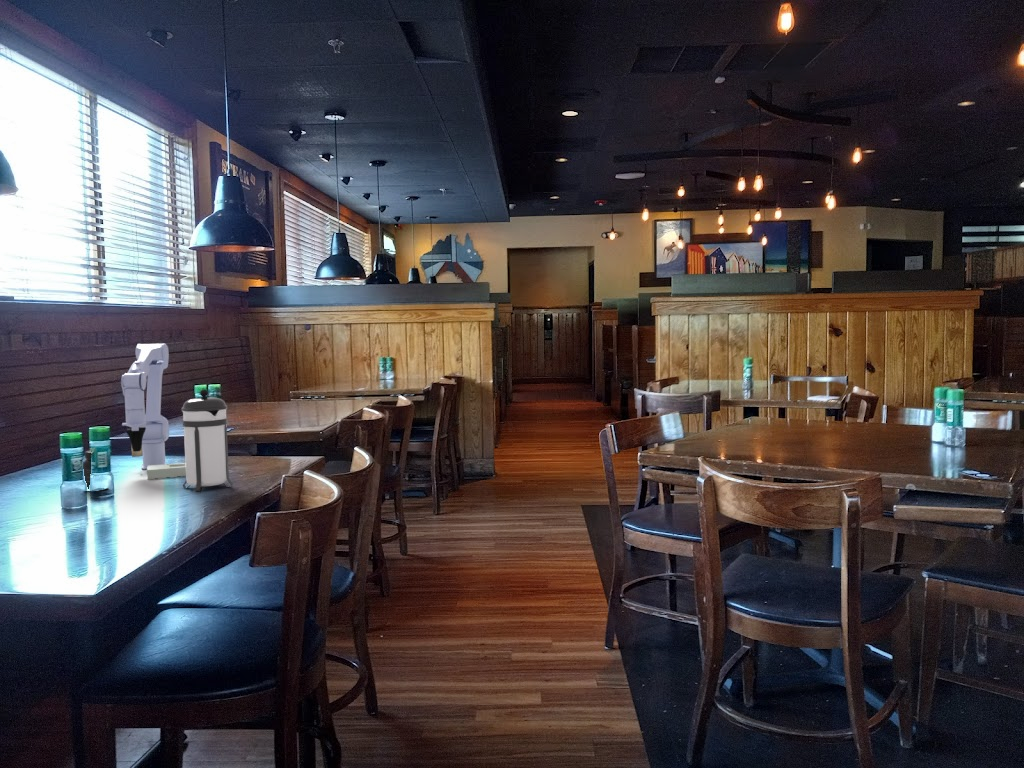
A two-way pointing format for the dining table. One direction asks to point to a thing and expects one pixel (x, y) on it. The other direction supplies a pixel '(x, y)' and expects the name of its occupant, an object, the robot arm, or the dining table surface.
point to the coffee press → (205, 442)
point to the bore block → (166, 470)
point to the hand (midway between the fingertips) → (137, 450)
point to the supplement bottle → (87, 467)
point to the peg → (136, 453)
